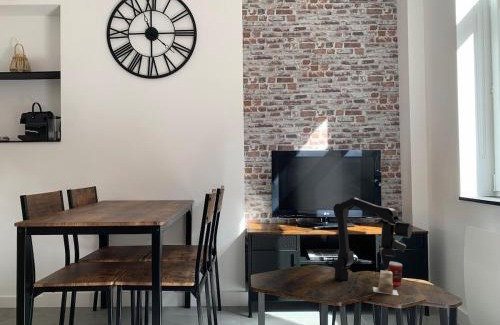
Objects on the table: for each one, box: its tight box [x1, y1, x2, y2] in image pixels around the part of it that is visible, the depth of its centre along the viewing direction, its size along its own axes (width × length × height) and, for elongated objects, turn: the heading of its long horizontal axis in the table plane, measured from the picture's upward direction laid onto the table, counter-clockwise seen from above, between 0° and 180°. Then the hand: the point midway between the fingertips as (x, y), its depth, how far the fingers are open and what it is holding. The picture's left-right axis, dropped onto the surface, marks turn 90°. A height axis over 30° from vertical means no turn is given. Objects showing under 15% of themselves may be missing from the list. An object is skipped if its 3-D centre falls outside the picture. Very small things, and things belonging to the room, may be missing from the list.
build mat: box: [372, 286, 399, 296], centre depth 180 cm, size 11×8×1 cm
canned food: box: [384, 260, 403, 287], centre depth 195 cm, size 8×8×11 cm
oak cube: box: [379, 269, 393, 285], centre depth 180 cm, size 5×5×5 cm
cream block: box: [377, 279, 394, 295], centre depth 180 cm, size 6×6×4 cm
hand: (385, 266), depth 182 cm, fingers open, 9 cm apart
